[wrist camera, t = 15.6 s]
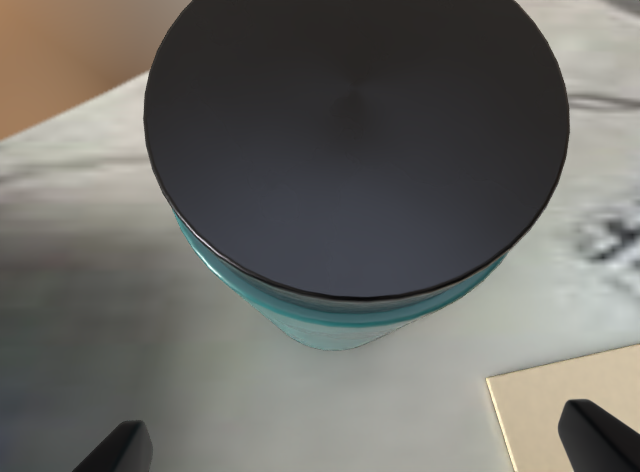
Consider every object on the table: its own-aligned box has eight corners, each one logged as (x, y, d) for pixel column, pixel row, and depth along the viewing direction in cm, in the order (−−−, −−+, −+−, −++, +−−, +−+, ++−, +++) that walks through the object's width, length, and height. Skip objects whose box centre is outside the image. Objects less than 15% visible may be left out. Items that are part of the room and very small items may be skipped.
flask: (437, 271, 18) (675, 81, 6) (336, 385, 16) (376, 444, 4) (329, 178, 19) (342, -128, 7) (228, 276, 18) (34, 95, 6)
